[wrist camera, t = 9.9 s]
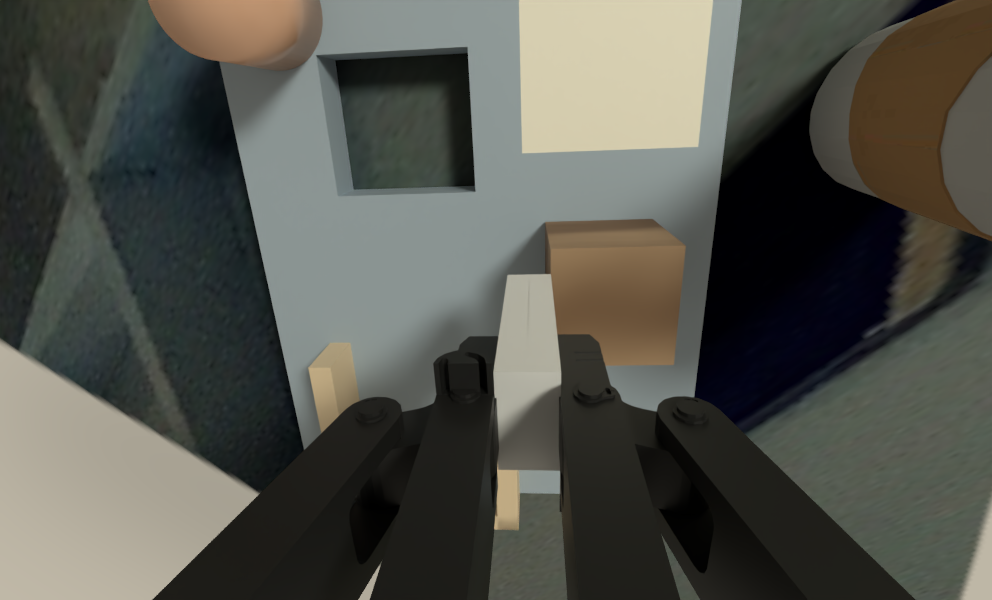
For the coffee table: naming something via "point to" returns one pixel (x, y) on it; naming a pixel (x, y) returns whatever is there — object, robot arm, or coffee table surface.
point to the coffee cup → (915, 116)
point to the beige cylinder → (244, 30)
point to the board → (481, 186)
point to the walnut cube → (617, 286)
